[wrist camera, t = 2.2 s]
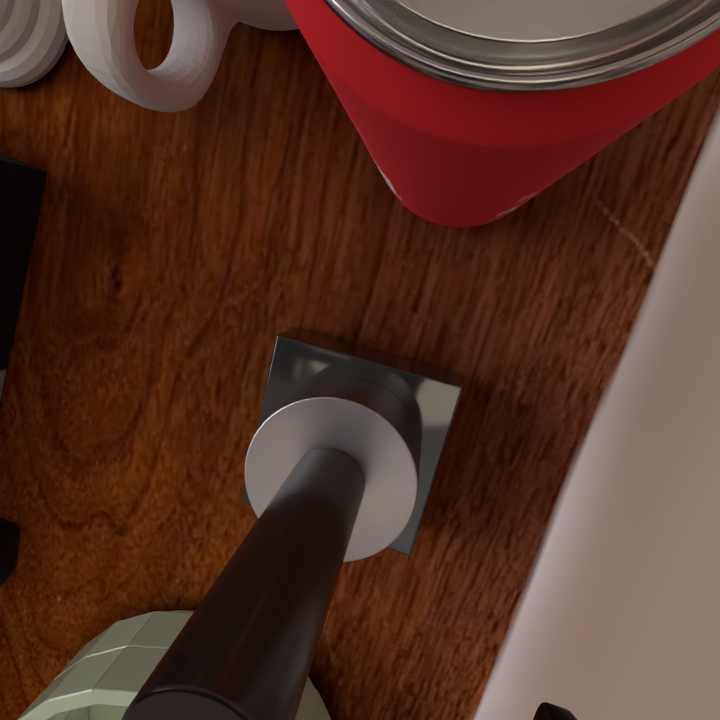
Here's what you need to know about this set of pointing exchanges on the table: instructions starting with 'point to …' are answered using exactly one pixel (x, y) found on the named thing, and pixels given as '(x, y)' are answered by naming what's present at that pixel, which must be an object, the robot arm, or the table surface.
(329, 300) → the table surface
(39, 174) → the book
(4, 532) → the robot arm
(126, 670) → the bowl
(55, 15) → the chess piece
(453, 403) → the pole stand base
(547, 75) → the beverage can
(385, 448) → the black post
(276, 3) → the cup
